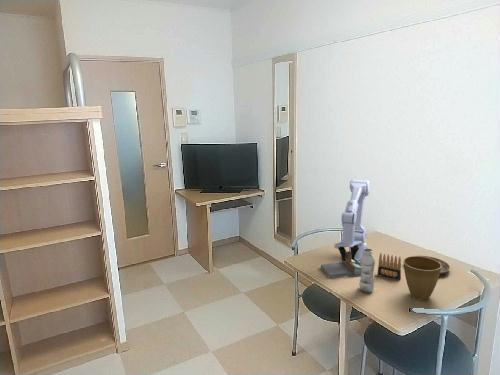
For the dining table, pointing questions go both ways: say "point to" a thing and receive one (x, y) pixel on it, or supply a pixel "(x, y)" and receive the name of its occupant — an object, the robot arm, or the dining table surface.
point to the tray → (357, 272)
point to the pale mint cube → (357, 266)
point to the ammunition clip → (389, 267)
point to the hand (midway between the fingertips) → (347, 259)
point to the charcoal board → (336, 270)
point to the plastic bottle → (367, 271)
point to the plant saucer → (444, 267)
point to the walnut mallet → (348, 261)
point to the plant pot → (421, 276)
